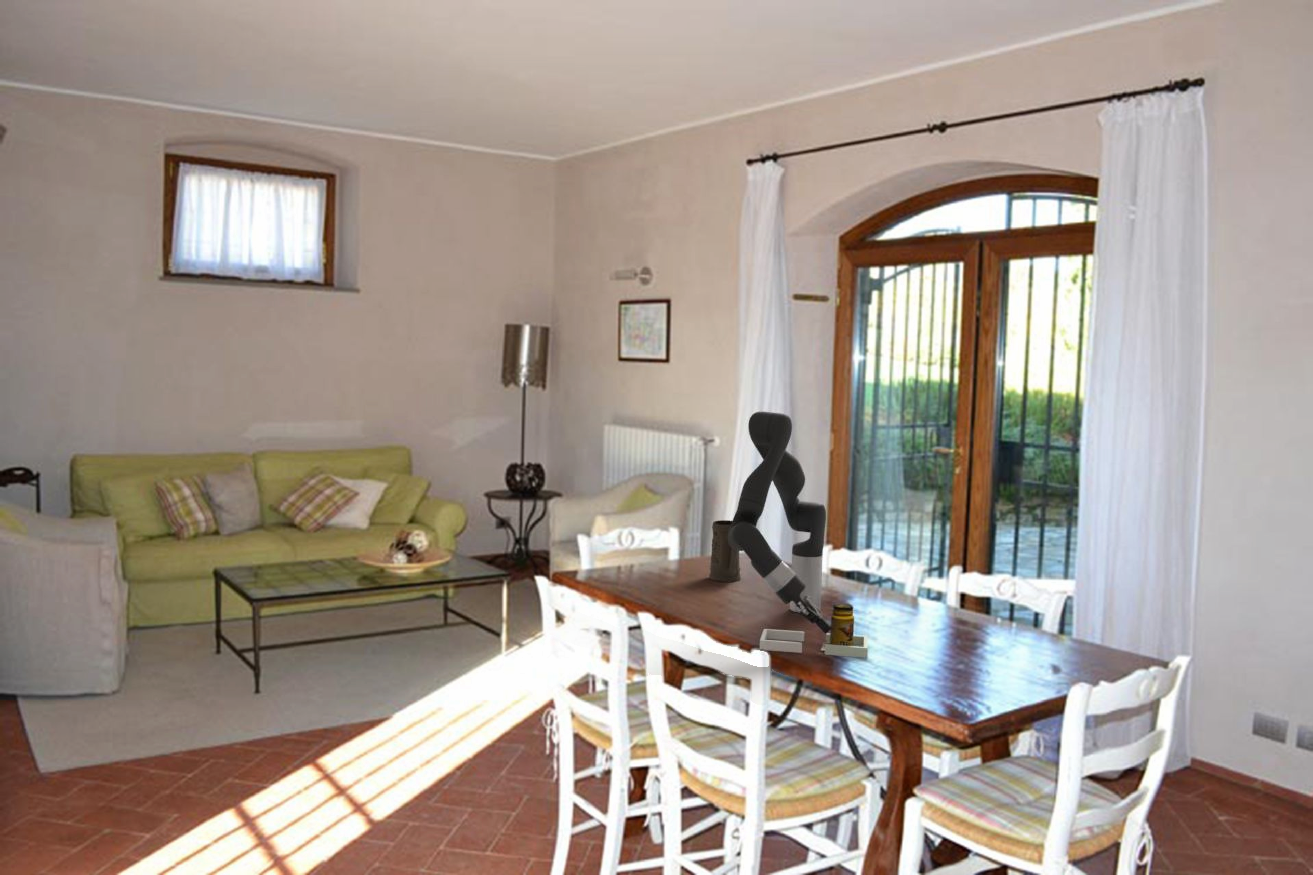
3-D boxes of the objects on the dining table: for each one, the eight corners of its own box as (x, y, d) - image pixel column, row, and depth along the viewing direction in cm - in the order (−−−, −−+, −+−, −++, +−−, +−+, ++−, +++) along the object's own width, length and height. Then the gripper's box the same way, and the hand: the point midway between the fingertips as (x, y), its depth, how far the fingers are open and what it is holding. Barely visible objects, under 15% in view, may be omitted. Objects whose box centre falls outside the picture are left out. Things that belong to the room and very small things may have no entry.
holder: (763, 637, 306) (764, 628, 306) (803, 640, 304) (804, 631, 304) (759, 649, 294) (759, 640, 294) (801, 652, 292) (801, 643, 292)
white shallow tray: (826, 642, 303) (826, 633, 303) (867, 645, 301) (867, 636, 301) (824, 654, 291) (825, 645, 291) (867, 657, 289) (867, 648, 289)
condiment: (853, 653, 292) (855, 609, 291) (820, 650, 294) (822, 606, 293) (855, 646, 299) (857, 603, 298) (823, 643, 301) (825, 600, 300)
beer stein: (702, 575, 386) (706, 519, 383) (730, 573, 391) (733, 518, 388) (723, 588, 373) (727, 529, 370) (751, 585, 377) (755, 528, 374)
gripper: (793, 577, 290) (838, 627, 289) (796, 568, 303) (839, 616, 302) (771, 596, 292) (816, 646, 291) (775, 586, 305) (819, 633, 304)
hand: (828, 630), depth 296 cm, fingers closed
